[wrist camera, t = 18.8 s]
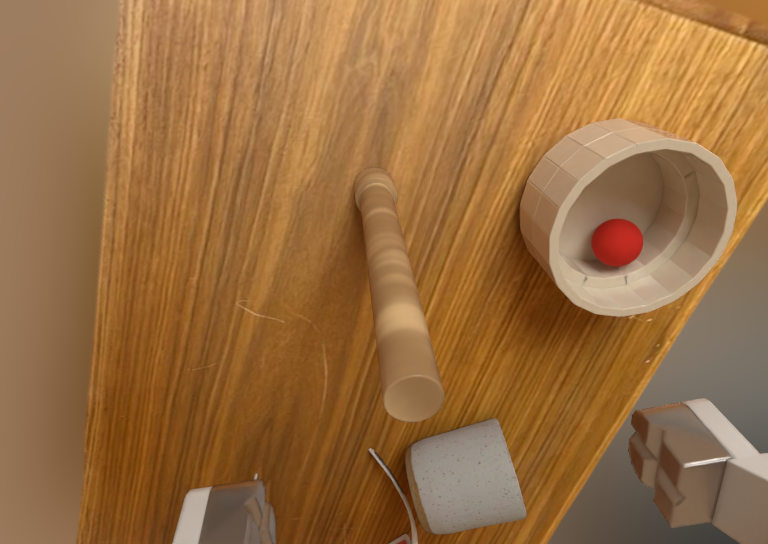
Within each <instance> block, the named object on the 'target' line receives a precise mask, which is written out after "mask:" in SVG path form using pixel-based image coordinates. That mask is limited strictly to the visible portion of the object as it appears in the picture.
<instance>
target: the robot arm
mask: <svg viewBox="0 0 768 544" xmlns="http://www.w3.org/2000/svg"><path fill="white" fill-rule="evenodd" d="M631 425H632V426H633V428H634V429H635V430H636V432H635V433H634V434H633V435H632V436H631V438H630V439H629V449H628V451H629V455H630V460H631V464H632V466H633V468H634V471H635V473H636V474H637V476H638V478H639V479H640V481H641V482H642V483H643V484H645V485H646V486H648V487H650V488H651V489H653V490H655V491H654V499H653V501H654V503H655V504H656V505H657V507H658V509H659V510H660V512H661V513H662V515H663V516H664V518H665V519H666V521H667V522H668V524H669V525H670V527H671V528H674V527H680V526H687V525H694V524H700V523H707V522H712V524H713V525H714V526H716V527H717V528H719V529H720V530H721V531H723V532H724V533H726V534H727V535H729V536H730V537H732V538H733V539H734V540H736V541H737V542H739V543H740V544H768V453H763V454H759V452H758V451H757V450H756V449H755V448H754V447H753V446H752V445H751V444H750V443H749V442H748V441H747V440H746V439H745V437H743V435H742V434H741V433H740V432H739V431H738V430H737V429H736V428H735V427H734V426H733V425H732V424H731V423H730V422H729V421H728V420H727V419H726V418H725V417H724V416H723V414H722V413H720V411H719V410H718V409H717V408H716V407H715V406H714V405H713V404H712V403H711V402H710V401H709V400H707V399H704V398H701V399H695V400H691V401H685V402H681V403H673V404H668V405H663V406H658V407H652V408H647V409H642V410H636V411H635V412H634V414H633V415H632V419H631ZM265 493H266V489H265V486H264V484H263V481H262V479H254V480H248V481H241V482H235V483H228V484H222V485H215V486H211V487H204V488H198V489H192V490H189V492H188V493H187V495H186V496H185V499H184V502H183V506H182V510H181V513H180V517H179V521H178V524H177V528H176V532H175V535H174V539H173V543H172V544H276V522H275V517H274V512H273V509H272V506H271V504H270V503H269V502H267V501H265Z"/></svg>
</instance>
